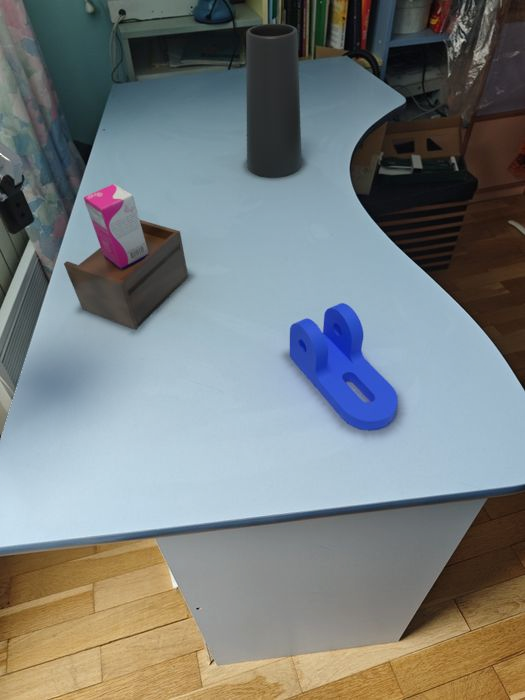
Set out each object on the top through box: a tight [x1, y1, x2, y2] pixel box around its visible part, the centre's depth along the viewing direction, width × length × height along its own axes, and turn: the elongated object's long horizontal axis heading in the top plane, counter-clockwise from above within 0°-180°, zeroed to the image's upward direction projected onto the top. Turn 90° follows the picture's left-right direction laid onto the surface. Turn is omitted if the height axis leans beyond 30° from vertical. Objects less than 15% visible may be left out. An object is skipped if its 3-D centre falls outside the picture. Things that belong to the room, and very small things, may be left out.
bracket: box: [289, 302, 399, 431], centre depth 69 cm, size 18×8×9 cm, turn 30°
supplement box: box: [83, 183, 149, 270], centre depth 79 cm, size 6×6×12 cm
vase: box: [245, 23, 303, 179], centre depth 111 cm, size 14×14×29 cm
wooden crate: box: [63, 219, 189, 330], centre depth 85 cm, size 12×16×10 cm
